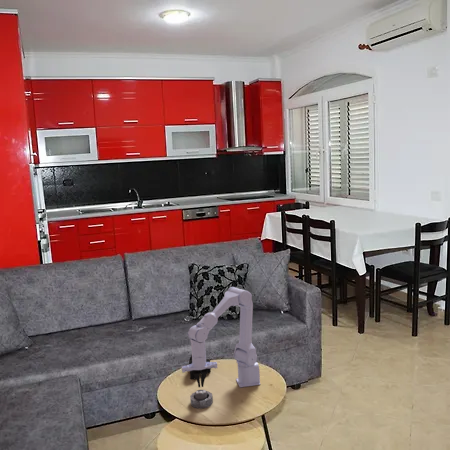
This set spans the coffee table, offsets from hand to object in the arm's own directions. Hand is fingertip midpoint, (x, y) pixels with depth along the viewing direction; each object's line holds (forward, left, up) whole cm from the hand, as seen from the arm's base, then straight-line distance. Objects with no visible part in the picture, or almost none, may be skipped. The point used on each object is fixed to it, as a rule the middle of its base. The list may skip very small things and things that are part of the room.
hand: (200, 386), depth 192 cm
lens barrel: (0, 0, -7) cm, 7 cm away
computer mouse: (0, 0, -7) cm, 7 cm away
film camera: (-3, -28, -8) cm, 29 cm away
